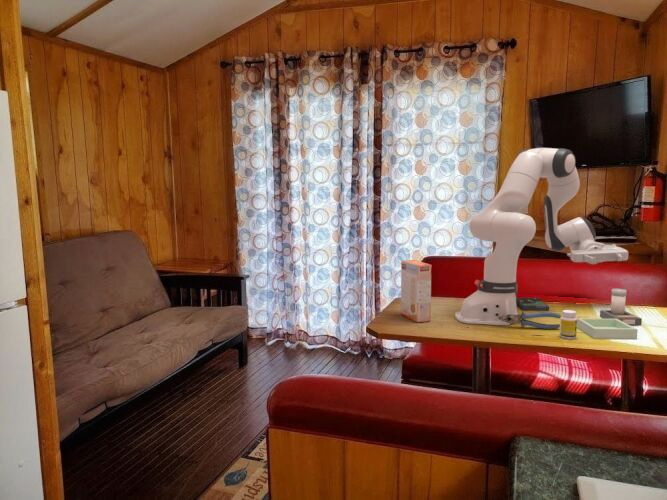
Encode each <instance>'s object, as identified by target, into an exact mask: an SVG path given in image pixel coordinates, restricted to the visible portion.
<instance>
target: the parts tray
mask: <svg viewBox="0 0 667 500" xmlns="http://www.w3.org/2000/svg"><path fill="white" fill-rule="evenodd" d="M576 318H577V317H576ZM577 329H579V330H580V331H582V332H583V333H585V334H586V335H588V336H590V337H591V338H593V340H595V339H598V340H600V339H603V340H605V339H606V340H607V339H609V340H610V339H611V340H616V339H617V340H619V339H620V340H637V339H638V330H639V329H638V328H636V327H634V326H630V325H628V324H626V323H624V322H622V321H620V320H618V319H603V318H586V317H585V318H582V317H581V318H577Z"/></svg>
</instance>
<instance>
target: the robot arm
mask: <svg viewBox="0 0 667 500" xmlns="http://www.w3.org/2000/svg"><path fill="white" fill-rule="evenodd" d="M576 162H577V160H576V156H575V154H574V153H573V151H572V150H570V149H567V148H562V147H561V148H555V147H554V148H552V147H536V148H525V149H523V150H520V152H519V153H517V155H516V157H515V159H514V161H513V163H512V164H511V166H510V167H509V170H508V171H507V174H506V176H505V178H504V180H503V182H502V185H501V187H500V189H499V190H498V193H497V194H496V195H495V196H494V198H493V199H492V200H491V202H489V204H488V205H487V206H485V208H483V209H482V210H481V211H479V212H477V213H475V214H474V215H473V216H472V217H471V219H470V223H469V231H470V233H471V235H472V236H473V237H475V238H477V239H479V240H482V241H484V242H492V243H493V242H494V243H495V247H494V249H493V252H492V253H490V254H488V255H487V256H486V257H485V259H484V265H483V266H484V267H483V279H482V280H479V279H475V281H474V284H475V285H476V286H477V290H476V291H475V292H473V293H471V294H470V295H469V296H467V297H466V298H464V299H463V302H462V304H461V307H460V310H459V311H456V312H455V314H454V318H455V319H456V320H457V321H458V322H460V323H464V324H473V325H493V326H509V325H511V324H512V323H507V322H504V321H502V320H499V319H498V317H499V316H503V315H507V314H515V315H519V314H518V306H517V305H516V297H518V296H517V294H518V281H517V267H518V260H519V257H520V255H521V252H522V250H523V248H524V247H525V246H526V245H527V244H528V243H529V242H531V241H532V240H533V238H534V237H535V234H536V231H537V226H536V221H535V220H534V219H533V217H532V216H530V215H528V214H525V213H521V212H519V211H520V210H522V209H524V208H525V207H526V208H527V206H528V205H529V204H530V202H531V201H532V198H533V196H534V195H533V194H534V193H535V191H536V189H537V186H538V183H539V181H540V179H541V178H542V179H547V180H546V181H547V183H548V189H547V192H546V195H545V196H544V197H543V218H544V227H545V229H544V240H545V244H546V245H547V247H548V248H549V250H552V251H556V252H561V251H563V250H565V249H566V248H568V247H569V249H570V252H569V253H566V256H567V257H569V258H570V261H572V262H573V263H587V264H589V265H596V264H599V263H603V262H615V261H617V262H622V261H627V260H628V259H629V251H628V250H627V249H625V248H623V247H621V246H617V244H614V243H605V242H604V243H603V242H598V241H596V236H597V234H596V229H595V228H594V225H593V224H592V222H590V221H589V219H586V218H585V217H582V216H578V217H575V218H573V219H571V220H568V221H566V222H564V223H561V224H558V212H559V211H560V210H561V208H563V206H565V205H566V203H568V202H569V201H571V200H572V199H573V198H574V197H575V196H576V195H577V194H578V192H579V190H580V186H581V181H580V177H579V172H578V169H577V167H576ZM503 319H506V318H503Z"/></svg>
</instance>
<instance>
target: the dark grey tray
mask: <svg viewBox="0 0 667 500" xmlns="http://www.w3.org/2000/svg"><path fill="white" fill-rule="evenodd" d="M610 313H611V309H600V310H599V318H600V319H618V320H620V321H622V322H624V323H626V324H628V325H630V326H632V327H634V325H641V326H642V323H643V321H642V320H643V319H642V317H640V316H637V315H635V314H634V313H633V314H632V313H631V312H629V311H627V310H625V315H612V314H610Z"/></svg>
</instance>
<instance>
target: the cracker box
mask: <svg viewBox="0 0 667 500" xmlns="http://www.w3.org/2000/svg"><path fill="white" fill-rule="evenodd" d="M400 263H401V267H400V268H401V269H400V273H401V275H400V314H401V315H402V316H404V317H406V318H408V319H409V320H410V321H411V320H412V321H413V322H415V323H427V322H429V323H430V322H431V310H432V309H431V308H432V306H431V305H432V303H431V301H432V297H431V296H432V264H429V263H428V262H427V263H426V262H422V261H419V260H415V259H407V260H401V262H400Z"/></svg>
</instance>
